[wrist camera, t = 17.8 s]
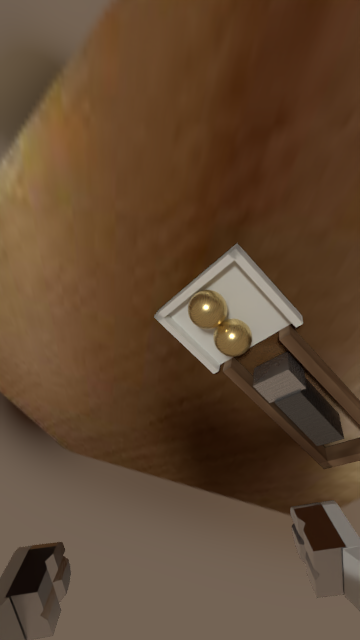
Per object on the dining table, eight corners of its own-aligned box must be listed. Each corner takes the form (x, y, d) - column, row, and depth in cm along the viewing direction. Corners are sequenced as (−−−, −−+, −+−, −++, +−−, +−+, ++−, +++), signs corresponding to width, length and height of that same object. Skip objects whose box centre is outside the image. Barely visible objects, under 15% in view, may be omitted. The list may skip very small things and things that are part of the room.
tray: (237, 243, 27) (235, 248, 26) (302, 315, 29) (303, 323, 28) (158, 310, 34) (153, 316, 33) (215, 365, 36) (213, 374, 35)
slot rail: (288, 323, 30) (289, 334, 29) (392, 436, 34) (397, 451, 33) (225, 360, 35) (222, 371, 34) (322, 455, 39) (324, 469, 38)
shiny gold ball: (232, 293, 31) (205, 275, 28) (238, 323, 28) (210, 306, 26) (204, 312, 33) (178, 296, 31) (208, 341, 30) (180, 327, 28)
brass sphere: (257, 322, 31) (233, 305, 29) (262, 353, 29) (236, 336, 27) (229, 338, 34) (205, 322, 32) (231, 368, 31) (205, 353, 29)
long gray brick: (288, 371, 29) (350, 437, 32) (287, 349, 32) (343, 411, 35) (252, 387, 32) (312, 447, 34) (254, 366, 35) (309, 422, 37)
